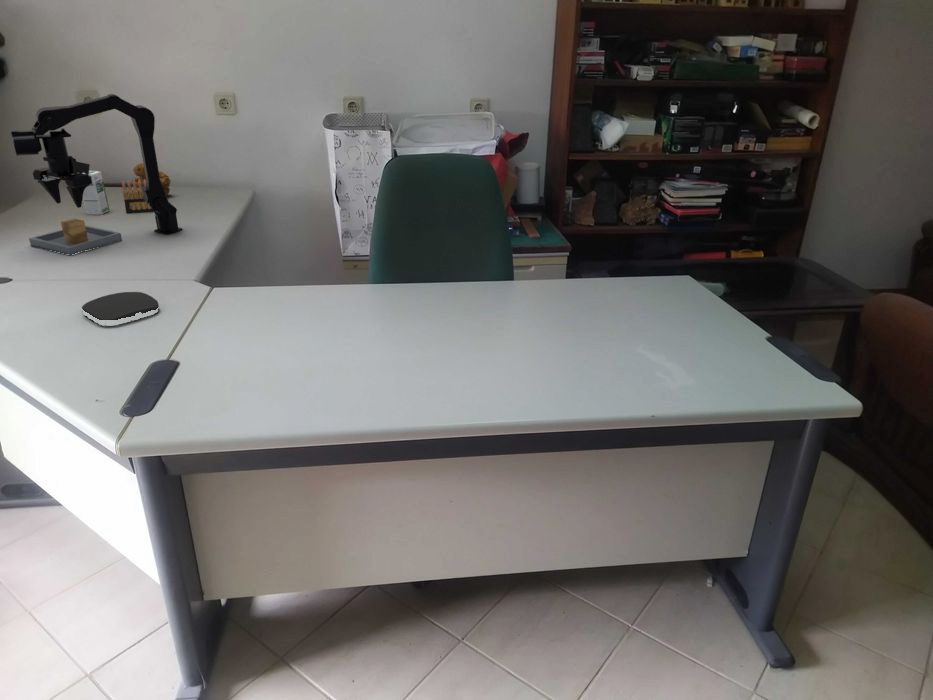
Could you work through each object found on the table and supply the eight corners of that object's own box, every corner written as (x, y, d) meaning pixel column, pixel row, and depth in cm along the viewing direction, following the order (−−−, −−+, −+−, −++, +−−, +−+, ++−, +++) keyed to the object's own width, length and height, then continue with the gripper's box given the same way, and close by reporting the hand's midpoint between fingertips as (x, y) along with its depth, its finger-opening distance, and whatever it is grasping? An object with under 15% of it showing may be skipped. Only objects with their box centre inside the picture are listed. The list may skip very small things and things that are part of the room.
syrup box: (102, 215, 235) (93, 174, 229) (85, 214, 235) (76, 173, 229) (110, 210, 240) (101, 170, 234) (94, 210, 240) (85, 170, 234)
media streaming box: (137, 297, 171) (135, 286, 170) (165, 313, 163) (163, 302, 161) (78, 313, 161) (75, 302, 159) (105, 331, 153) (103, 319, 151)
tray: (122, 240, 211) (120, 232, 210) (70, 255, 196) (68, 247, 195) (83, 231, 217) (81, 224, 216) (30, 246, 203) (28, 238, 201)
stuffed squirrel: (135, 194, 263) (129, 161, 257) (174, 193, 267) (168, 160, 261) (133, 200, 254) (127, 166, 248) (173, 199, 259) (167, 165, 253)
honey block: (88, 240, 207) (83, 220, 204) (75, 244, 204) (70, 223, 201) (78, 238, 209) (74, 218, 206) (65, 242, 205) (60, 221, 202)
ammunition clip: (126, 213, 238) (119, 180, 233) (126, 212, 240) (119, 179, 234) (158, 211, 242) (152, 178, 237) (158, 210, 243) (152, 177, 238)
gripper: (102, 152, 198) (113, 204, 205) (60, 145, 205) (72, 195, 212) (68, 158, 189) (80, 211, 196) (25, 151, 195) (39, 203, 203)
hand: (69, 205), depth 202 cm, fingers open, 9 cm apart
